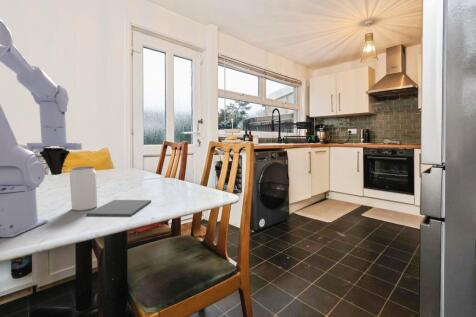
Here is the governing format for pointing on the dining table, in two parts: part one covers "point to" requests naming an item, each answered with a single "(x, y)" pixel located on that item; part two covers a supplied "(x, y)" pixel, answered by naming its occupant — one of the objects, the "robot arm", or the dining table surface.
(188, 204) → the dining table surface
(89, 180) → the can
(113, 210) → the mat
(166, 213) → the dining table surface
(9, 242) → the dining table surface
